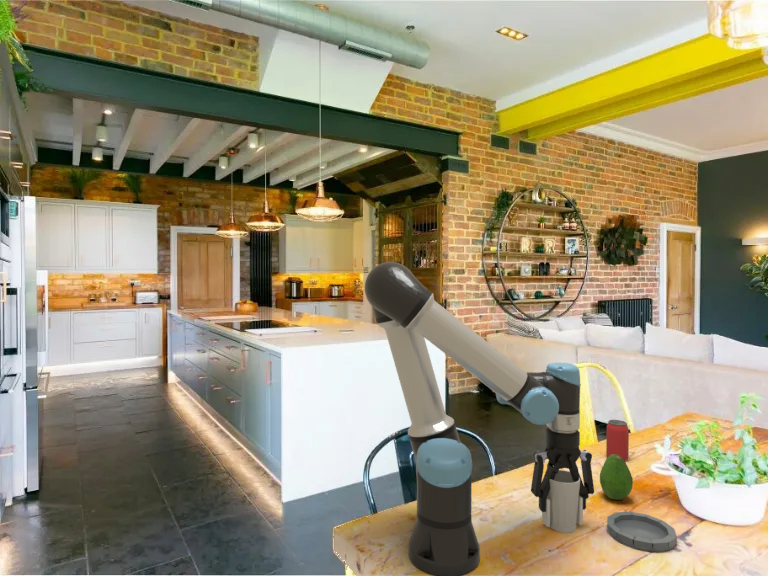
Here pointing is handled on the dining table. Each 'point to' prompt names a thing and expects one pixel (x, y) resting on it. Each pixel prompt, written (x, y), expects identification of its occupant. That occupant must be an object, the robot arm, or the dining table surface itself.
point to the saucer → (641, 531)
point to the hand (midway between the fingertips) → (562, 523)
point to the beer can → (617, 439)
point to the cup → (563, 502)
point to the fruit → (616, 478)
